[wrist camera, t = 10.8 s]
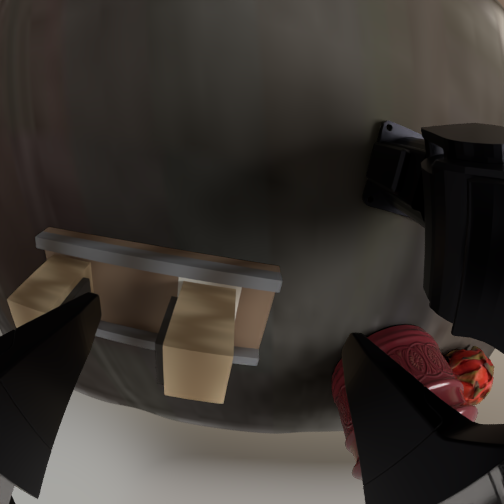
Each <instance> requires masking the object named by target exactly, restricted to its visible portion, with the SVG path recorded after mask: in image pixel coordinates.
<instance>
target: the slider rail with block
mask: <svg viewBox="0 0 504 504" xmlns="http://www.w3.org/2000/svg"><path fill="white" fill-rule="evenodd" d="M35 240H36V248H39V249H43V250H45V253H46V260H47V261H46V262H45V263H43V264H42V265H41V266H40V267H39V268H38V269H37V270H36V271H35V272H34V273H33V274H32V275H31V276H30V277H29V278H28V279H26V280H25V281H24V282H23V283H22V284H21V285H20V286H19V287H18V288H17V289H16V290H15V291H14V292H13V293H12V294H11V296H10V297H9V298H8V299H7V301H8V304H9V308H10V311H11V314H12V317H13V319H14V322H15V325H16V328H18V327H20V326H21V325H23V324H25V323H27V322H29V321H31V320H33V319H35V318H37V317H39V316H41V315H43V314H45V313H47V312H49V311H51V310H53V309H55V308H57V307H59V306H61V305H63V304H65V303H67V302H69V301H71V300H73V299H75V298H77V297H79V296H81V295H83V294H85V293H87V292H92V293H96V294H98V295H99V297H100V304H101V312H102V316H101V320H100V323H99V326H98V329H97V332H96V334H95V336H98V337H102V338H105V339H109V340H113V341H117V342H121V343H125V344H129V345H133V346H138V347H142V348H147V349H151V350H155V341H156V338H157V335H158V332H159V330H160V327H161V324H162V321H163V318H164V315H165V313H166V310H167V307H168V304H169V302H170V299H171V296H174V297H178V296H179V293H180V290H181V287H182V284H183V281H187V282H194V283H200V284H206V285H212V286H219V287H225V288H232V289H236V301H235V327H234V355H233V361H232V363H235V364H243V365H252V366H257V364H258V360H259V346H260V342H261V339H262V336H263V332H264V329H265V326H266V322H267V319H268V315H269V312H270V309H271V305H272V302H273V298H274V295H275V292H278V293H279V292H280V288H281V285H282V276H281V272H280V267H279V266H275V265H269V264H263V263H257V262H251V261H244V260H238V259H232V258H226V257H220V256H214V255H208V254H202V253H196V252H190V251H184V250H178V249H172V248H166V247H160V246H154V245H148V244H143V243H137V242H131V241H125V240H119V239H114V238H108V237H102V236H97V235H91V234H85V233H80V232H74V231H69V230H63V229H58V228H52V227H48V228H47V229H45V230H44V231H43V232H41V233H40V234H38V235H37V236H36V237H35Z"/></svg>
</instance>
